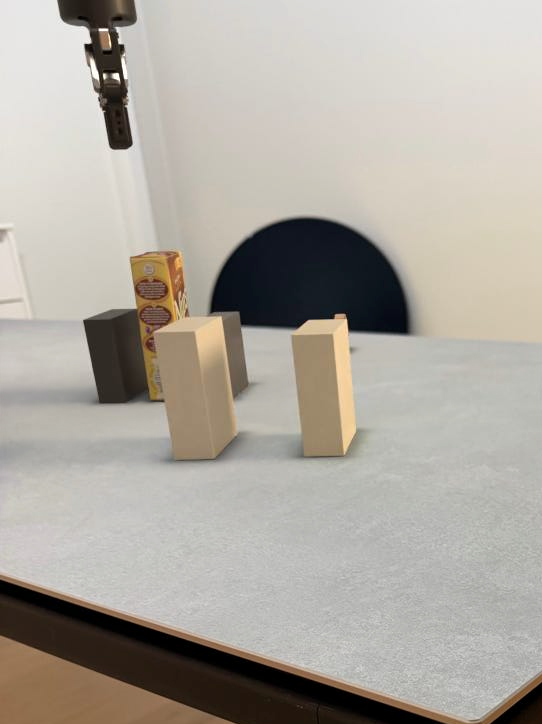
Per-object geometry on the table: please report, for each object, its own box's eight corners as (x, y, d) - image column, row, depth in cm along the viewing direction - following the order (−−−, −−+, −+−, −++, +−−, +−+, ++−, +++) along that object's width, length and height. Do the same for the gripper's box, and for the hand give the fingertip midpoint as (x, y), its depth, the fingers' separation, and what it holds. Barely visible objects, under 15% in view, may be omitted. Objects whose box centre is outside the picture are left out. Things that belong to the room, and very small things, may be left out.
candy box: (188, 400, 108) (166, 255, 101) (150, 402, 107) (124, 256, 100) (201, 384, 116) (181, 249, 109) (165, 386, 115) (143, 250, 108)
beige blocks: (174, 460, 85) (152, 332, 80) (201, 435, 93) (183, 317, 88) (344, 456, 85) (332, 327, 80) (356, 431, 93) (346, 313, 88)
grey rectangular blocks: (99, 403, 107) (82, 319, 103) (126, 386, 116) (111, 309, 112) (231, 399, 107) (219, 316, 103) (249, 383, 115) (238, 305, 111)
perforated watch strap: (331, 353, 133) (328, 316, 131) (336, 348, 138) (333, 311, 135) (350, 353, 133) (347, 316, 131) (355, 347, 137) (352, 311, 135)
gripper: (53, -21, 101) (84, 151, 108) (48, -48, 89) (84, 147, 96) (127, -18, 103) (153, 150, 110) (132, -45, 91) (161, 146, 98)
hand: (121, 148), depth 103 cm, fingers open, 8 cm apart
